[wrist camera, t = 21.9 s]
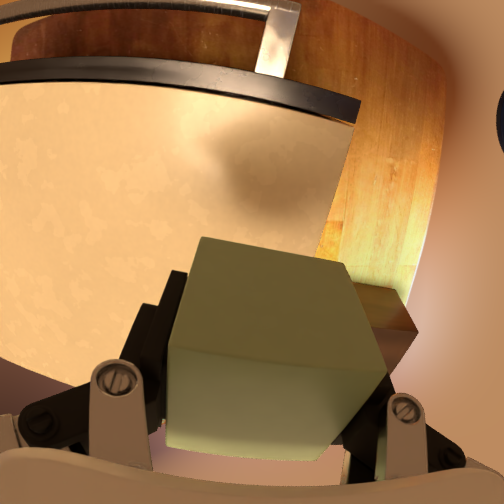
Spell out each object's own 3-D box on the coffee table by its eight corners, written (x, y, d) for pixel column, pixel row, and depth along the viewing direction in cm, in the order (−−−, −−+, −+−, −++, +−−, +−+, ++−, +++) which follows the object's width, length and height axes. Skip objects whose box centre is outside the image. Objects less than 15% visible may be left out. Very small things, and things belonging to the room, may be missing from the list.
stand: (337, 279, 55) (354, 325, 44) (395, 289, 56) (419, 332, 45) (316, 329, 60) (325, 377, 50) (370, 336, 61) (386, 380, 51)
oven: (45, 76, 37) (-81, 98, 14) (299, 104, 41) (355, 127, 18) (45, 250, 52) (-34, 340, 30) (251, 293, 56) (248, 424, 33)
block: (200, 234, 11) (167, 344, 6) (344, 262, 11) (389, 371, 7) (186, 341, 13) (164, 446, 9) (302, 359, 13) (315, 461, 9)
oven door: (52, 30, 33) (-71, 25, 11) (312, 53, 37) (381, 17, 15) (45, 75, 37) (-80, 96, 14) (300, 103, 41) (355, 124, 18)
